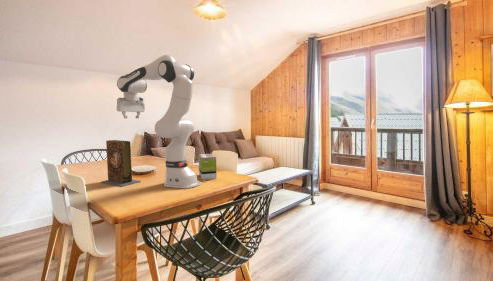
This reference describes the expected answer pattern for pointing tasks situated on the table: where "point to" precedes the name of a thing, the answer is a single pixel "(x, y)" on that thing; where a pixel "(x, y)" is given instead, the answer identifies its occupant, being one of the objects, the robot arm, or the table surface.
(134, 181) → the mat
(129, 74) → the robot arm
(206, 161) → the tea box
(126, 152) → the book
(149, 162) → the table surface
